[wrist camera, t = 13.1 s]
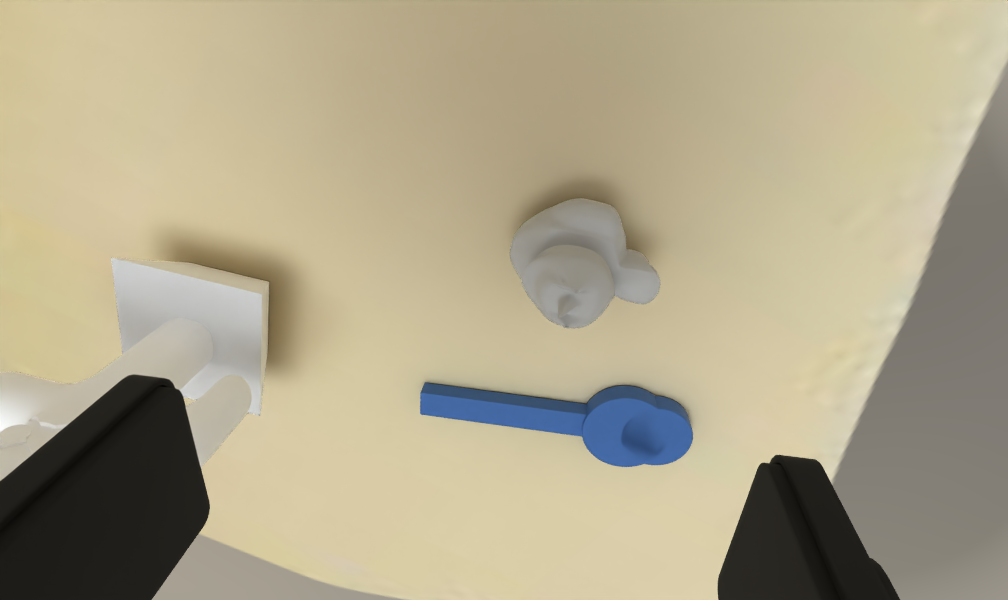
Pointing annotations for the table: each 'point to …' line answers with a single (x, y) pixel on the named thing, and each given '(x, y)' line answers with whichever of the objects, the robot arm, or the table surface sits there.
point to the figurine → (159, 356)
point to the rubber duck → (579, 262)
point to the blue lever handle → (579, 419)
